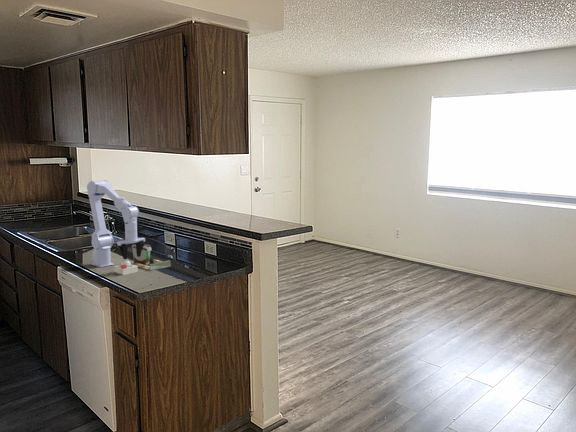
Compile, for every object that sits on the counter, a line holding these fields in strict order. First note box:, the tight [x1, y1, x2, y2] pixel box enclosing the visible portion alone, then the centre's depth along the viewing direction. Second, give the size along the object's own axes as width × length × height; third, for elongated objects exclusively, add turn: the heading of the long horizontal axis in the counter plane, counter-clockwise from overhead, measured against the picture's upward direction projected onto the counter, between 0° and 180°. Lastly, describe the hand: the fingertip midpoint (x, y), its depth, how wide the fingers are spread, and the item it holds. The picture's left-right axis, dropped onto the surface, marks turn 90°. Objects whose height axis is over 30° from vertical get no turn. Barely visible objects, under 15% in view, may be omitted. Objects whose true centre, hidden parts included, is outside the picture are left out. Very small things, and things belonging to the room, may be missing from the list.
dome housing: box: [113, 263, 139, 276], centre depth 238 cm, size 8×8×5 cm
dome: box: [120, 259, 132, 268], centre depth 238 cm, size 5×5×5 cm
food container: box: [131, 244, 152, 266], centre depth 255 cm, size 12×6×10 cm, turn 57°
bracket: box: [134, 259, 172, 271], centre depth 251 cm, size 14×12×3 cm
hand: (131, 257), depth 240 cm, fingers open, 7 cm apart
